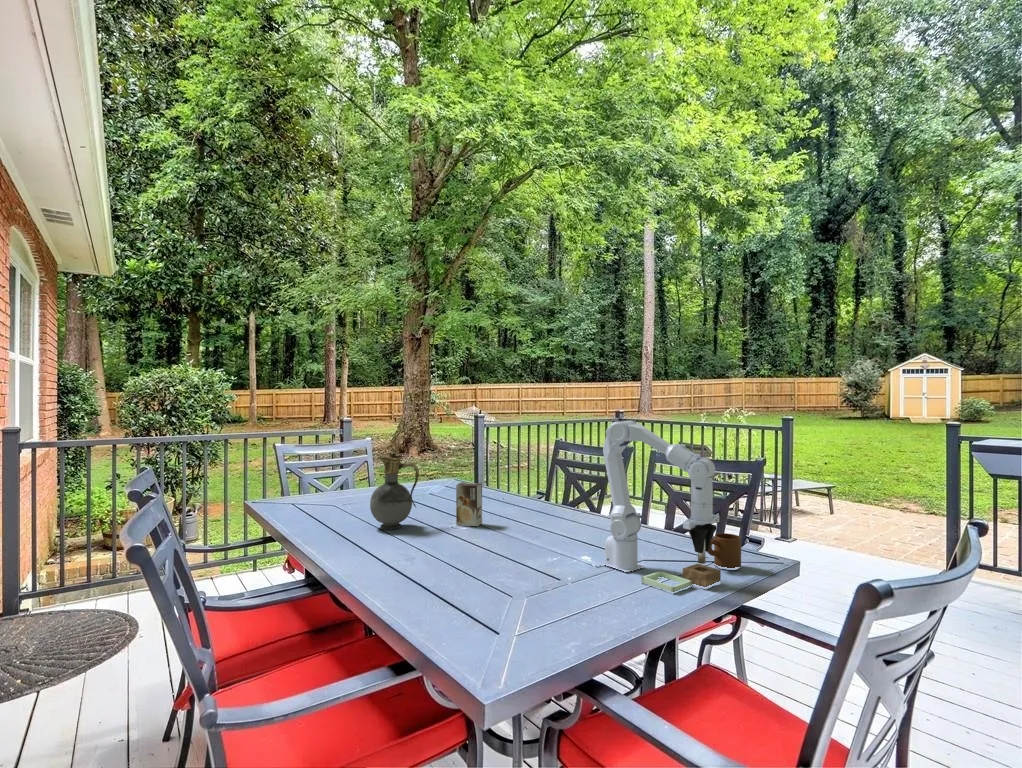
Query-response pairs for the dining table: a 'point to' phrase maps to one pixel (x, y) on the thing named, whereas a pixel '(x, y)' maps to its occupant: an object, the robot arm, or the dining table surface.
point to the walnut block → (702, 575)
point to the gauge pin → (702, 556)
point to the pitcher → (392, 493)
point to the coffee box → (468, 504)
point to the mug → (726, 550)
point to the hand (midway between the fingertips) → (701, 551)
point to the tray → (653, 581)
